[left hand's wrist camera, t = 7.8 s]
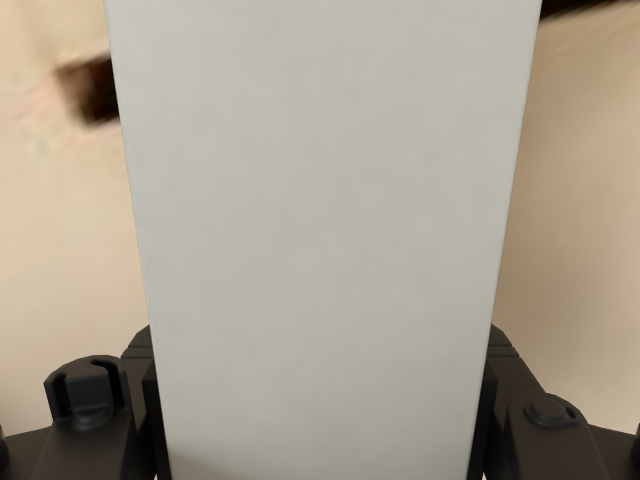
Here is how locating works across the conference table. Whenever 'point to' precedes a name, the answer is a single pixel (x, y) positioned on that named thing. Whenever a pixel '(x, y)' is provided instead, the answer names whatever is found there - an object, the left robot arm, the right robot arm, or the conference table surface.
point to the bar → (320, 224)
